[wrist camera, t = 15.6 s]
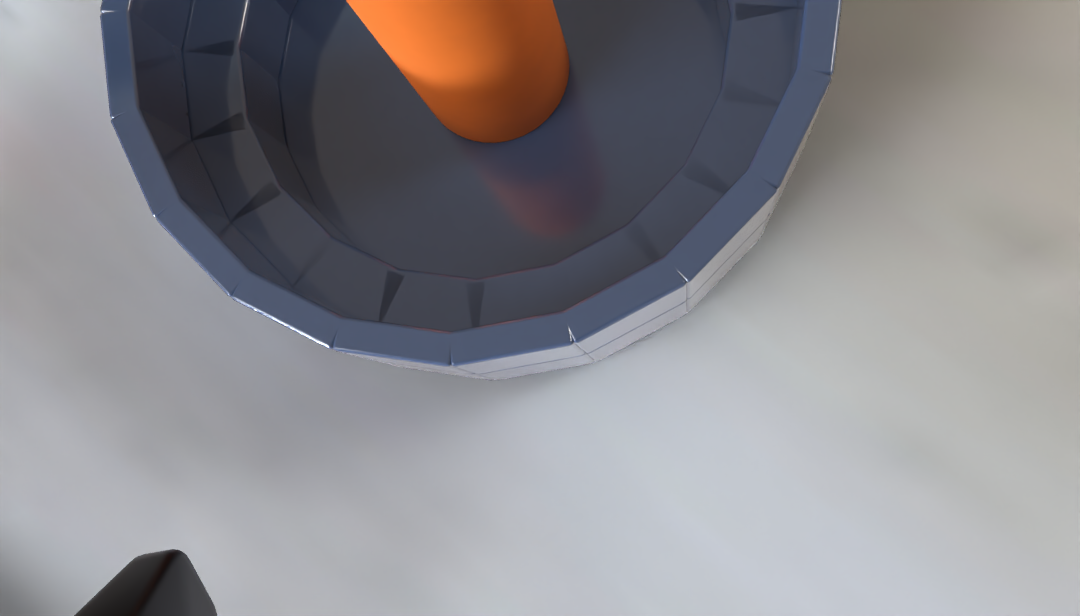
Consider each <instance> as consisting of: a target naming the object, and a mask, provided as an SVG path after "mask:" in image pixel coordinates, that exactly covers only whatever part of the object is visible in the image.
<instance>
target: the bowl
mask: <svg viewBox="0 0 1080 616" xmlns="http://www.w3.org/2000/svg"><path fill="white" fill-rule="evenodd" d="M553 3H554V7H555V10H556V13H557V17H558V20H559V23H560V27H561V30H562V33H563V36H564V40H565V43H566V46H567V51H568V55H569V77H568V82H567V86H566V89H565V92H564V95H563V97H562V99H561V101H560V103H559V104H558V106H557V107H556V109H555V110H554V112H553V113H552V114H551V115H550V116H549V118H548V119H547V120H545V121H544V122H543V123H542V124H541V125H540V126H539V127H537V128H536V129H534V130H533V131H531V132H529V133H527V134H526V135H524V136H521V137H519V138H516V139H513V140H509V141H505V142H497V143H484V142H478V141H473V140H470V139H466V138H464V137H462V136H459V135H457V134H456V133H454V132H452V131H451V130H449V129H448V128H447V127H446V126H444V125H443V124H442V123H441V122H440V121H439V120H438V118H437V117H436V116H435V115H434V114H433V112H432V111H431V110H430V108H429V107H428V106H427V104H426V103H425V102H424V101H423V99H422V98H421V97H420V95H419V94H418V93H417V92H416V90H415V89H414V88H413V86H412V85H411V84H410V83H409V81H408V80H407V79H406V77H405V76H404V75H403V74H402V72H401V71H400V70H399V68H398V67H397V66H396V64H395V63H394V62H393V61H392V59H391V58H390V57H389V55H388V54H387V53H386V52H385V50H384V49H383V48H382V46H381V45H380V44H379V43H378V41H377V40H376V39H375V37H374V36H373V35H372V33H371V32H370V31H369V30H368V28H367V27H366V26H365V24H364V23H363V22H362V21H361V19H360V18H359V17H358V15H357V14H356V13H355V12H354V10H353V9H352V8H351V6H350V5H349V4H348V2H347V1H346V0H102V5H101V13H102V14H101V16H100V18H101V28H102V38H103V48H104V58H105V69H106V79H107V89H108V99H109V109H110V116H111V118H112V120H111V123H112V125H113V127H114V129H115V131H116V134H117V136H118V138H119V140H120V143H121V145H122V147H123V149H124V152H125V154H126V156H127V158H128V160H129V163H130V165H131V167H132V169H133V172H134V174H135V176H136V178H137V181H138V183H139V185H140V187H141V189H142V192H143V194H144V196H145V198H146V201H147V203H148V205H149V207H150V210H151V212H152V214H153V216H154V217H156V219H157V221H158V222H159V223H160V224H161V225H162V226H163V228H164V229H165V230H166V231H167V232H168V233H169V234H170V235H171V236H172V237H173V238H174V239H175V240H176V241H177V242H178V243H179V244H180V246H181V247H182V248H183V249H184V250H185V251H186V252H187V253H188V254H189V255H190V256H191V257H192V258H193V259H194V260H195V261H196V262H197V263H198V265H199V266H200V267H201V268H202V269H203V270H204V271H205V272H206V273H207V274H208V275H209V276H210V277H211V278H212V279H213V280H214V281H215V283H216V284H217V285H218V286H219V287H220V288H221V289H222V290H223V291H224V292H225V293H226V294H227V295H228V296H230V297H232V298H233V299H234V301H236V302H238V303H240V304H242V305H244V306H246V307H248V308H250V309H252V310H254V311H256V312H258V313H260V314H262V315H264V316H266V317H268V318H270V319H272V320H273V321H275V322H277V323H279V324H281V325H283V326H285V327H287V328H289V329H291V330H293V331H295V332H297V333H299V334H301V335H303V336H305V337H307V338H309V339H311V340H312V341H314V342H316V343H318V344H320V345H322V346H324V347H326V348H328V349H332V350H335V351H337V352H341V353H345V354H349V355H353V356H357V357H361V358H365V359H369V360H373V361H377V362H381V363H385V364H389V365H393V366H397V367H402V368H409V369H416V370H422V371H429V372H436V373H443V374H450V375H457V376H464V377H471V378H478V379H485V380H494V379H496V380H503V379H508V378H514V377H519V376H525V375H531V374H536V373H542V372H547V371H553V370H558V369H564V368H570V367H575V366H581V365H586V364H592V363H593V362H594V361H600V360H602V359H604V358H606V357H608V356H610V355H611V354H613V353H615V352H617V351H619V350H621V349H623V348H624V347H626V346H628V345H630V344H632V343H634V342H636V341H638V340H639V339H641V338H643V337H645V336H647V335H649V334H651V333H653V332H654V331H656V330H658V329H660V328H662V327H664V326H666V325H668V324H669V323H671V322H673V321H675V320H677V319H679V318H681V317H682V316H684V315H685V314H686V313H687V312H690V311H691V310H692V309H693V308H694V307H695V306H696V305H697V304H698V303H699V302H700V301H701V300H702V299H703V298H704V296H705V295H706V294H707V293H708V292H709V291H710V290H711V289H712V288H713V287H714V286H715V285H716V284H717V283H718V282H719V281H720V280H721V279H722V278H723V277H724V276H725V275H726V274H727V273H728V272H729V271H730V269H731V268H732V267H733V266H734V265H735V264H736V263H737V262H738V261H739V260H740V259H741V258H742V257H743V256H744V255H745V254H746V253H747V252H748V251H749V250H750V249H751V248H752V247H753V246H754V245H755V244H756V243H757V241H758V240H759V238H760V237H761V236H762V234H763V232H764V230H765V228H766V226H767V224H768V222H769V220H770V218H771V216H772V214H773V212H774V209H775V207H776V205H777V203H778V201H779V199H780V197H781V195H782V193H783V191H784V189H785V187H786V185H787V182H788V180H789V178H790V176H791V174H792V172H793V170H794V168H795V166H796V164H797V162H798V160H799V157H800V155H801V153H802V151H803V149H804V147H805V145H806V142H807V140H808V137H809V135H810V132H811V130H812V127H813V125H814V122H815V120H816V117H817V115H818V112H819V110H820V107H821V105H822V103H823V100H824V98H825V95H826V93H827V90H828V88H829V85H830V83H831V78H832V76H833V73H834V67H835V58H836V50H837V41H838V33H839V24H840V16H841V7H842V0H553Z"/></svg>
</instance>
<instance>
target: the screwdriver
mask: <svg viewBox="0 0 1080 616" xmlns="http://www.w3.org/2000/svg"><path fill="white" fill-rule="evenodd" d="M346 1H347V2H348V4H349V5H350V6H351V8H352V9H353V10H354V12H355V13H356V14H357V15H358V17H359V18H360V19H361V21H362V22H363V23H364V24H365V26H366V27H367V28H368V30H369V31H370V32H371V33H372V35H373V36H374V37H375V39H376V40H377V41H378V43H379V44H380V45H381V46H382V48H383V49H384V50H385V52H386V53H387V54H388V55H389V57H390V58H391V59H392V61H393V62H394V63H395V64H396V66H397V67H398V68H399V70H400V71H401V72H402V74H403V75H404V76H405V77H406V79H407V80H408V81H409V83H410V84H411V85H412V86H413V88H414V89H415V90H416V92H417V93H418V94H419V95H420V97H421V98H422V99H423V101H424V102H425V103H426V104H427V106H428V107H429V108H430V110H431V111H432V112H433V114H434V115H435V116H436V117H437V118H438V120H439V121H440V122H441V123H442V124H443V125H444V126H446V127H447V128H448V129H449V130H451V131H452V132H454V133H456V134H457V135H459V136H462V137H464V138H466V139H470V140H473V141H478V142H484V143H497V142H505V141H509V140H513V139H516V138H519V137H521V136H524V135H526V134H527V133H529V132H531V131H533V130H534V129H536V128H537V127H539V126H540V125H541V124H542V123H543V122H544V121H545V120H547V119H548V118H549V116H550V115H551V114H552V113H553V112H554V110H555V109H556V107H557V106H558V104H559V103H560V101H561V99H562V97H563V95H564V92H565V89H566V86H567V82H568V77H569V55H568V51H567V46H566V43H565V40H564V36H563V33H562V30H561V27H560V23H559V20H558V17H557V13H556V10H555V7H554V3H553V0H346Z"/></svg>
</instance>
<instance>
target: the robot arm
mask: <svg viewBox="0 0 1080 616" xmlns="http://www.w3.org/2000/svg"><path fill="white" fill-rule="evenodd" d="M74 616H217V613H216V609H215V606H214V604H213V602H212V600H211V598H210V596H209V594H208V593H207V591H206V589H205V587H204V585H203V583H202V582H201V580H200V578H199V576H198V574H197V572H196V570H195V569H194V567H193V565H192V563H191V561H190V560H189V558H188V557H187V555H186V554H184V553H183V552H182V551H180V550H175V549H172V550H166V551H160V552H154V553H148V554H144V555H141V556H138V557H136V558H134V559H133V560H132V561H131V562H130V563H129V564H128V565H127V566H126V567H125V568H123V569H122V570H121V571H120V572H119V573H118V574H117V575H116V576H115V577H114V578H113V579H112V580H111V581H110V582H109V583H108V584H107V585H106V586H105V587H104V588H103V589H102V590H101V591H99V592H98V593H97V594H96V595H95V596H94V597H93V598H92V599H91V600H90V601H89V602H88V603H87V604H86V605H85V606H84V607H83V608H82V609H81V610H80V611H79V612H78V613H76V614H75V615H74Z"/></svg>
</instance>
